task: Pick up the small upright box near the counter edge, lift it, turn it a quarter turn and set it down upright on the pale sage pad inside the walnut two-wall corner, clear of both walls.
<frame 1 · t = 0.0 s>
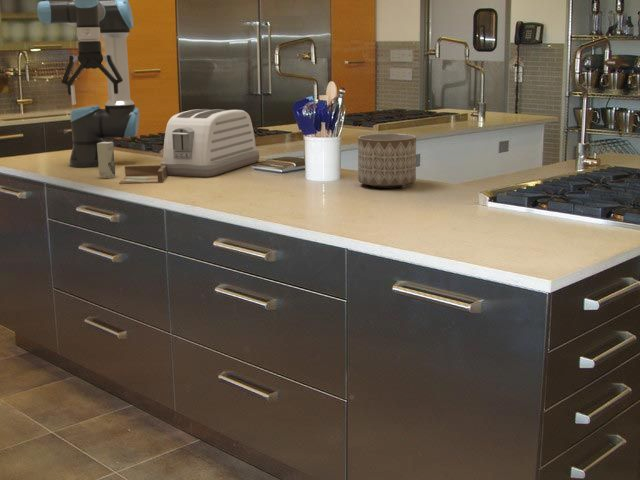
hand: (94, 104, 304), 28 cm above the counter, fingers open, 13 cm apart
box: (107, 177, 326), on the counter
arena: (143, 179, 319), on the counter
planter: (386, 185, 299), on the counter
toaster: (210, 169, 342), on the counter
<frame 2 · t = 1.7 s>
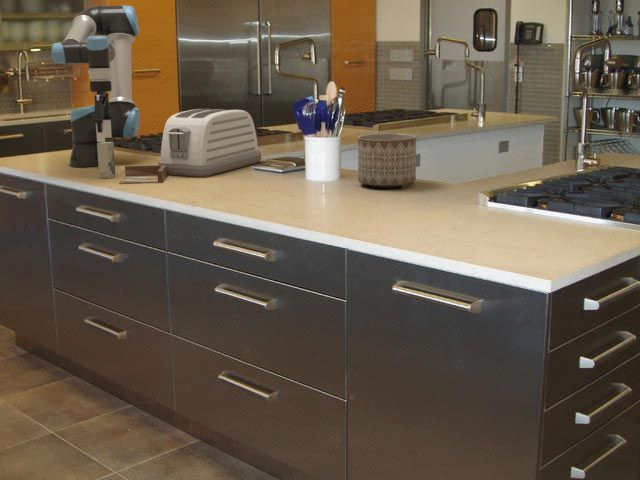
hand: (104, 139, 323), 14 cm above the counter, fingers open, 13 cm apart
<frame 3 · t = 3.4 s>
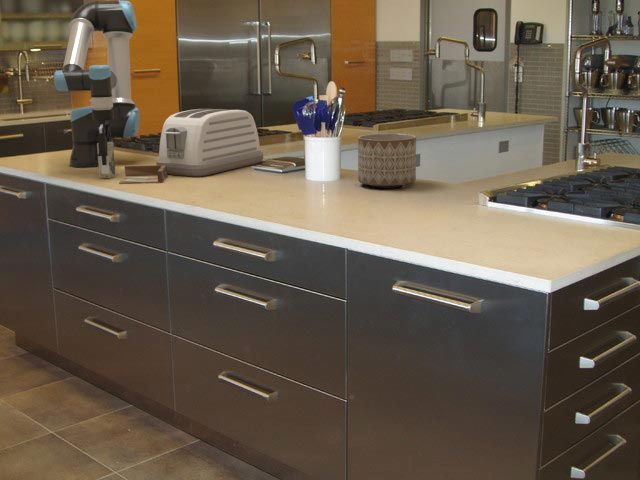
hand: (107, 172, 326), 2 cm above the counter, fingers closed on box, 6 cm apart
box: (107, 177, 326), on the counter, touching gripper
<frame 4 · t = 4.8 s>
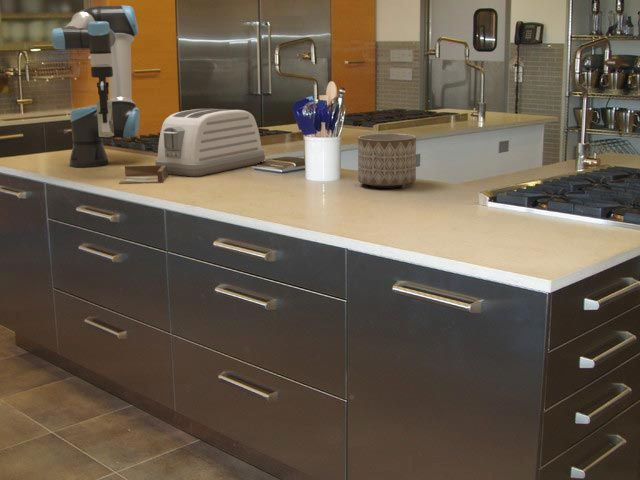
hand: (106, 131, 321), 17 cm above the counter, fingers closed on box, 6 cm apart
box: (106, 136, 322), point 15 cm above the counter, touching gripper
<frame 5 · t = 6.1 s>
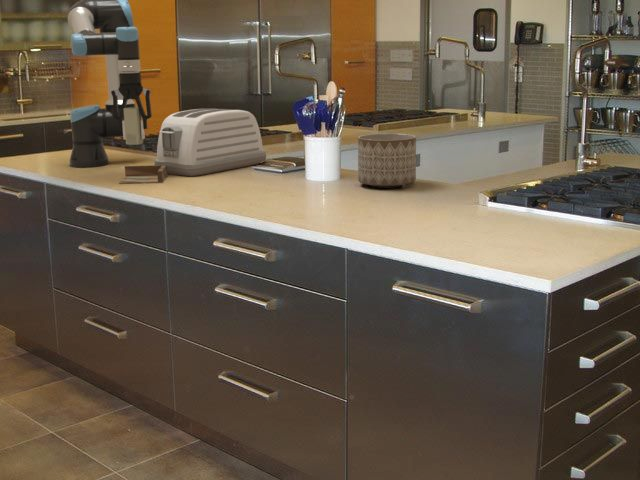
hand: (134, 138, 315), 15 cm above the counter, fingers closed on box, 6 cm apart
box: (134, 144, 315), point 13 cm above the counter, touching gripper
when the fingers open (4 cm above the counter, at t = 8.3 s): box drops 1 cm, resting on arena.
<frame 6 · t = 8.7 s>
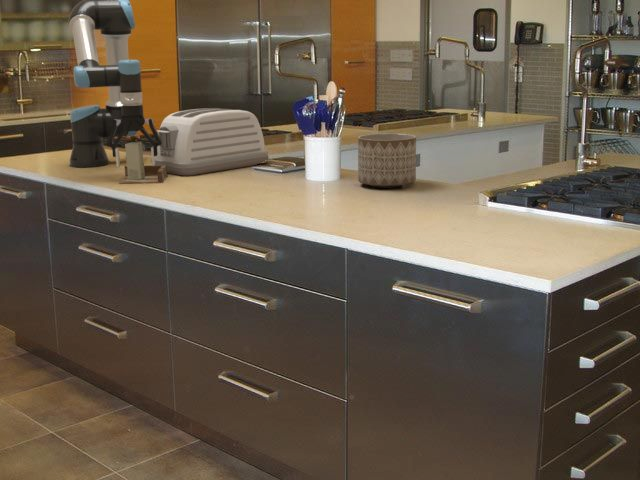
hand: (136, 165, 317), 5 cm above the counter, fingers open, 12 cm apart
box: (136, 179, 318), resting on arena
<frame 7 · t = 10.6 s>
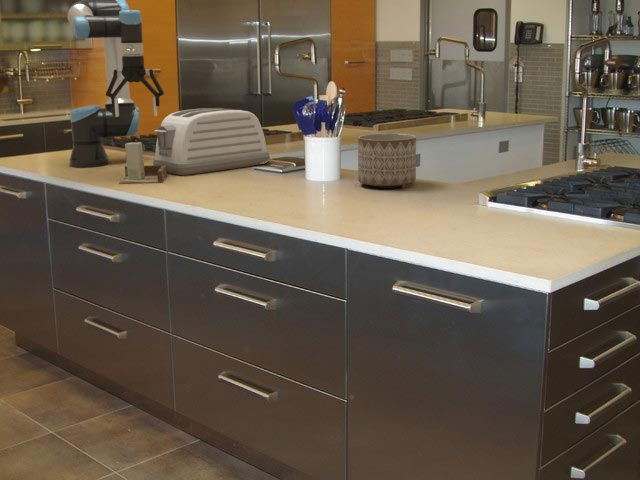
hand: (136, 116, 317), 23 cm above the counter, fingers open, 13 cm apart
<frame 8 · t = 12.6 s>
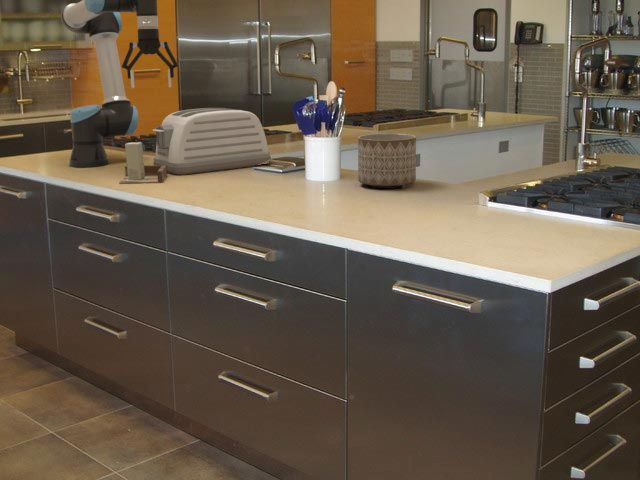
hand: (151, 87, 328), 32 cm above the counter, fingers open, 13 cm apart
at the end: box inside the target area on the arena (0.7 cm from its centre), point 0.4 cm above the arena's base; box tilted 0°; the gripper is holding nothing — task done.
